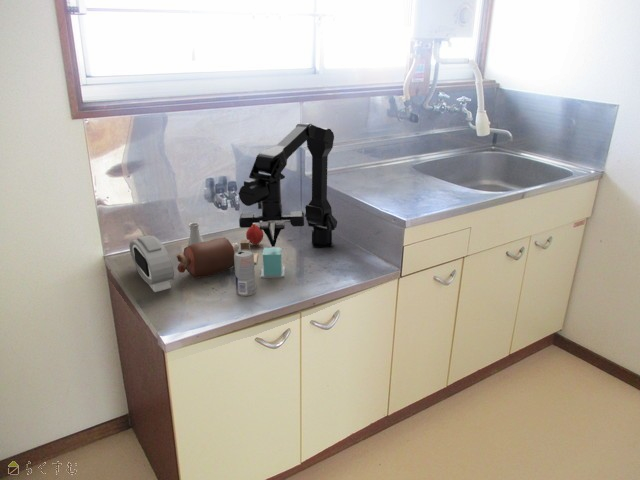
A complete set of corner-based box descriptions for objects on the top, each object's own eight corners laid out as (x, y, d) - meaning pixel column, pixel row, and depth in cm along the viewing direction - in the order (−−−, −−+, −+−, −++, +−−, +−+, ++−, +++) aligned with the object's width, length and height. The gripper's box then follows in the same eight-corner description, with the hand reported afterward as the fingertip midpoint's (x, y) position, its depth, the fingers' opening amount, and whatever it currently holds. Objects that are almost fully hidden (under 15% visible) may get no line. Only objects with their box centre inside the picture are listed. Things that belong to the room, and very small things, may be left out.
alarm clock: (132, 268, 162) (126, 229, 157) (152, 263, 165) (146, 225, 161) (155, 297, 144) (149, 255, 140) (176, 291, 147) (171, 250, 143)
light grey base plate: (284, 267, 162) (284, 248, 159) (284, 277, 155) (283, 258, 153) (262, 268, 162) (261, 249, 159) (260, 278, 155) (259, 258, 153)
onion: (244, 243, 180) (243, 221, 177) (260, 240, 182) (259, 219, 179) (249, 249, 175) (248, 227, 172) (266, 246, 177) (265, 224, 174)
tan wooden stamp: (257, 255, 171) (256, 237, 168) (256, 264, 164) (255, 245, 162) (236, 255, 170) (235, 237, 168) (234, 264, 164) (232, 245, 162)
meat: (230, 259, 169) (228, 229, 165) (248, 271, 160) (247, 240, 156) (171, 274, 157) (167, 243, 153) (187, 289, 149) (184, 256, 145)
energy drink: (246, 285, 151) (244, 247, 146) (259, 291, 147) (257, 252, 143) (232, 292, 147) (229, 253, 142) (245, 298, 144) (243, 258, 139)
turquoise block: (281, 267, 161) (281, 247, 158) (281, 274, 156) (280, 254, 153) (264, 267, 160) (263, 247, 158) (263, 275, 156) (262, 254, 153)
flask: (202, 257, 169) (199, 228, 166) (181, 255, 171) (178, 227, 167) (211, 248, 176) (208, 221, 172) (191, 247, 177) (188, 219, 173)
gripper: (303, 187, 158) (304, 235, 164) (241, 188, 158) (244, 236, 164) (303, 199, 148) (304, 249, 154) (237, 200, 147) (241, 251, 153)
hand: (273, 246), depth 156 cm, fingers closed
